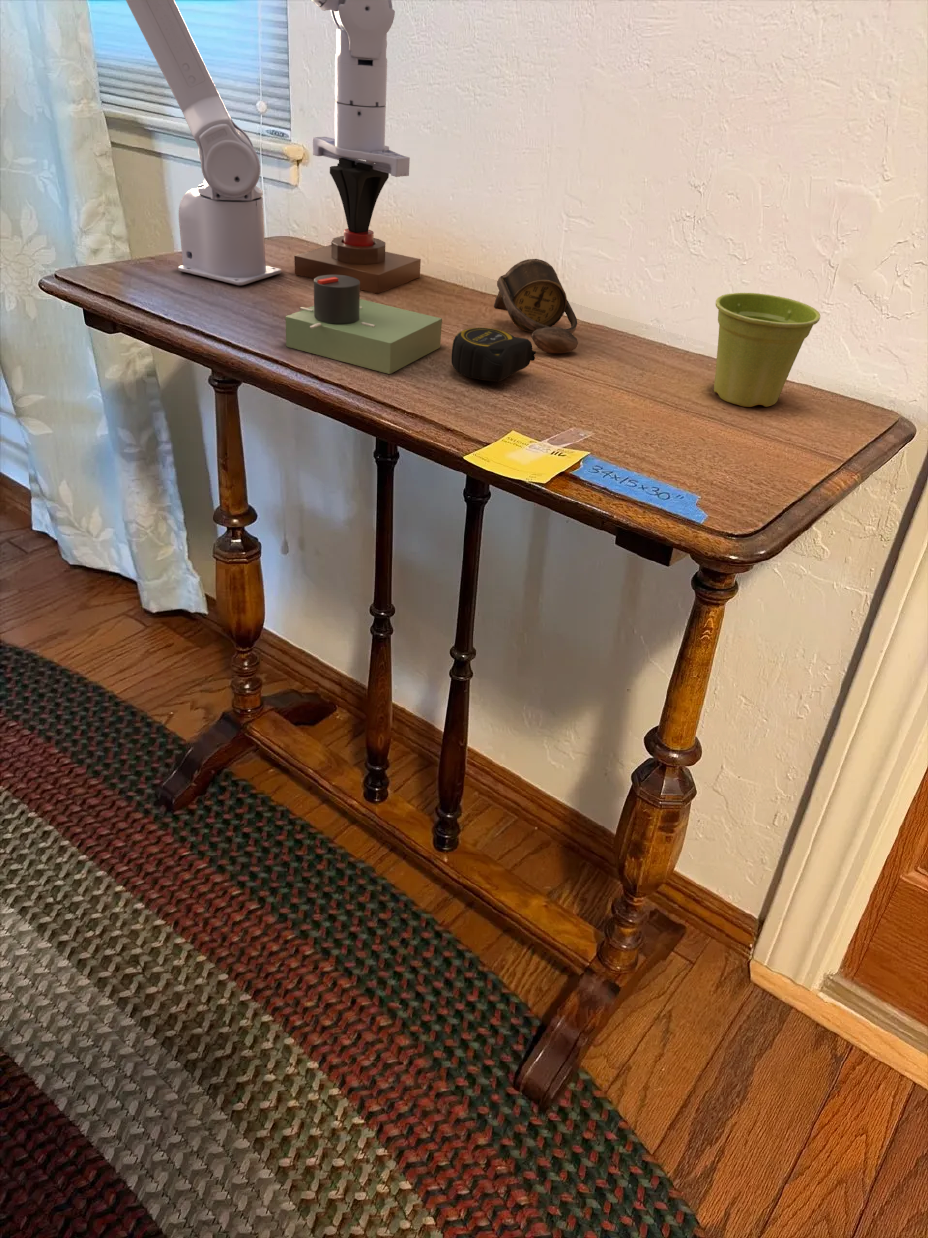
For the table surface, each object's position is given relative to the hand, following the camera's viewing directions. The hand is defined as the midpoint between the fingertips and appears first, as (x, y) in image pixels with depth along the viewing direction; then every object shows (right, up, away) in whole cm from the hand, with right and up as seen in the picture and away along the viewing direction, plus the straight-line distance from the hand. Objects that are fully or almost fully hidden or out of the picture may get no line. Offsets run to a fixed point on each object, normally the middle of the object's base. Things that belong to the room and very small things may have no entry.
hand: (358, 231), depth 112 cm
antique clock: (+20, -16, -11) cm, 28 cm away
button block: (0, -4, +3) cm, 5 cm away
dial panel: (+3, -19, -19) cm, 27 cm away
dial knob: (0, -17, -21) cm, 27 cm away
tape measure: (+16, -24, -23) cm, 36 cm away
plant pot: (+40, -25, -22) cm, 52 cm away
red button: (0, -1, +1) cm, 2 cm away
